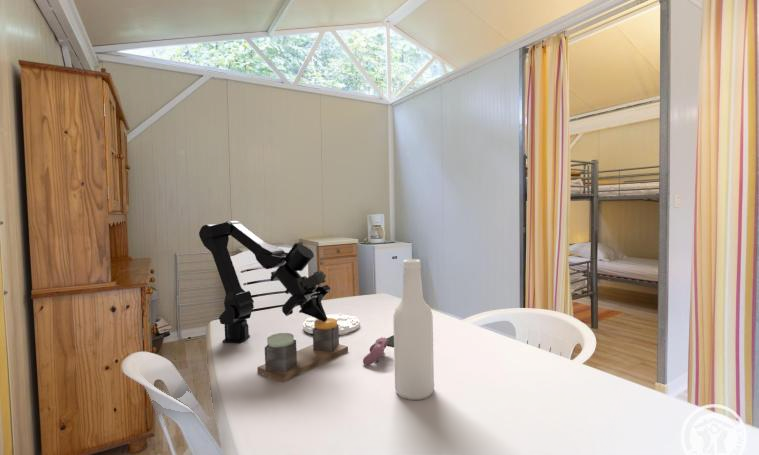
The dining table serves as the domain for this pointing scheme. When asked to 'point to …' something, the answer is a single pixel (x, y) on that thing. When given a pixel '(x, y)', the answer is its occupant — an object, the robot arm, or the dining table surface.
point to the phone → (390, 341)
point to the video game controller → (376, 351)
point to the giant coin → (343, 322)
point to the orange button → (325, 324)
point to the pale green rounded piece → (280, 340)
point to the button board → (301, 355)
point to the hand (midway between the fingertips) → (325, 320)
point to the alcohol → (413, 338)
